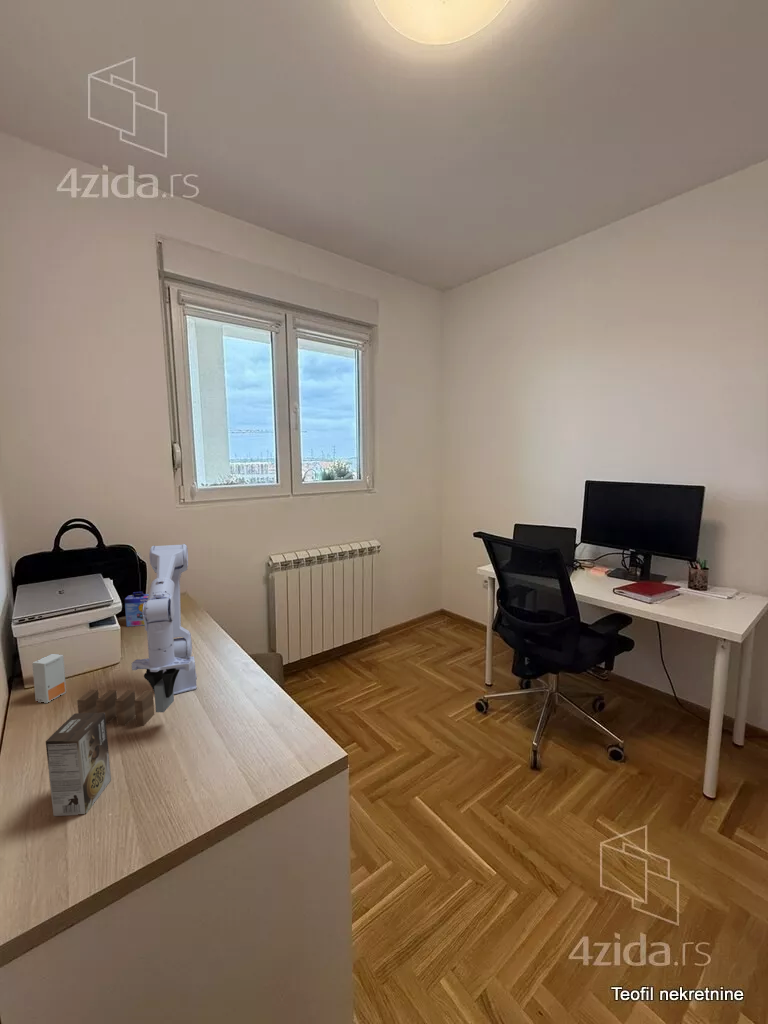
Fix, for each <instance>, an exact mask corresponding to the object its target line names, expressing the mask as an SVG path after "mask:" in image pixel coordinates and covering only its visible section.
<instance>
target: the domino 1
mask: <svg viewBox="0 0 768 1024" xmlns="http://www.w3.org/2000/svg"><path fill="white" fill-rule="evenodd" d="M99 698H100V696H99V690H98V689H90V690H89V691H87V692H86V693H84V694H83V695H82V696H80V697H79V698H78V699H77V700H76V702H77V713H97V704H96V700H97V699H99Z"/></svg>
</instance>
